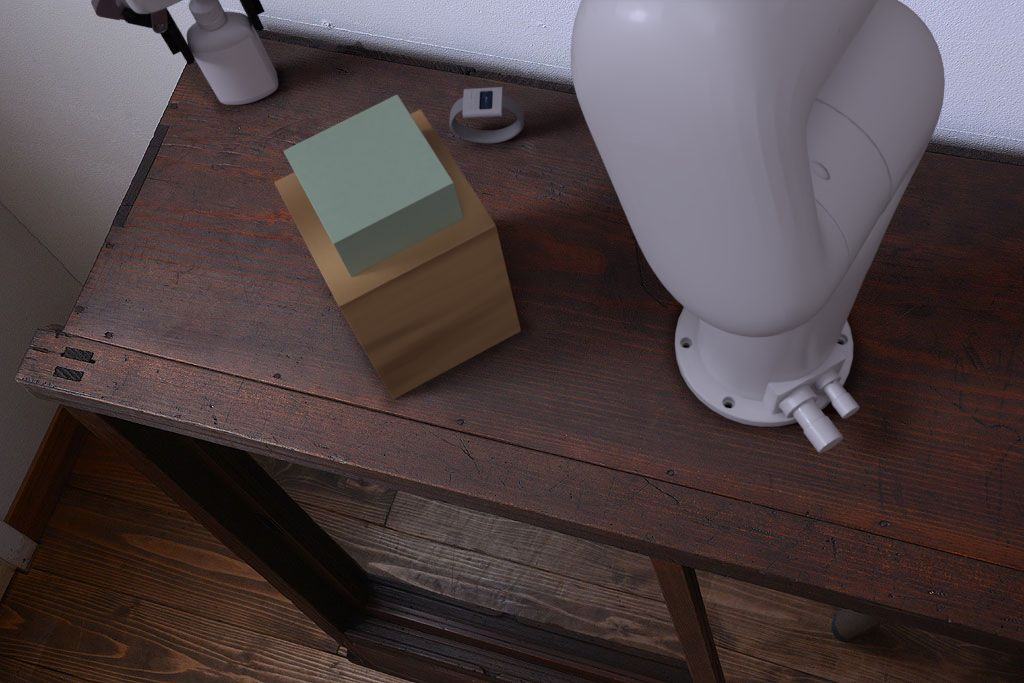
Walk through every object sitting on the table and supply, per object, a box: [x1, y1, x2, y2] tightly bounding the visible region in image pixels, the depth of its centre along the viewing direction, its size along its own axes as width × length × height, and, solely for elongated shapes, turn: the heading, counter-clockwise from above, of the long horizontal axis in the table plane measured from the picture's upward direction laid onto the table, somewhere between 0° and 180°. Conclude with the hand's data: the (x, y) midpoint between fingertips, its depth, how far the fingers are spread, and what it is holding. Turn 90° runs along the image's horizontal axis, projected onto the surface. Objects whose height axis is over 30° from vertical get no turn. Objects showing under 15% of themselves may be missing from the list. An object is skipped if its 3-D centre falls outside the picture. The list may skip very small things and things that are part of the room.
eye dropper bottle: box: [186, 0, 279, 106], centre depth 83 cm, size 4×6×12 cm
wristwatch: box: [448, 86, 525, 145], centre depth 80 cm, size 6×3×5 cm, turn 89°
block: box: [283, 94, 464, 277], centre depth 61 cm, size 8×8×4 cm
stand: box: [274, 108, 522, 400], centre depth 69 cm, size 11×11×15 cm
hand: (220, 35), depth 82 cm, fingers closed on eye dropper bottle, 5 cm apart
